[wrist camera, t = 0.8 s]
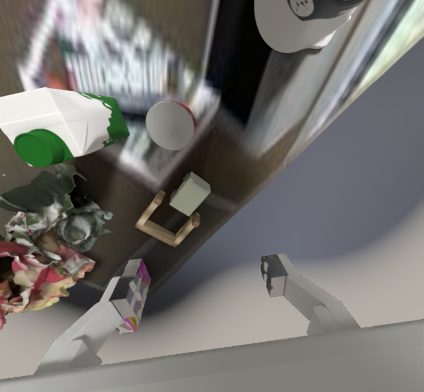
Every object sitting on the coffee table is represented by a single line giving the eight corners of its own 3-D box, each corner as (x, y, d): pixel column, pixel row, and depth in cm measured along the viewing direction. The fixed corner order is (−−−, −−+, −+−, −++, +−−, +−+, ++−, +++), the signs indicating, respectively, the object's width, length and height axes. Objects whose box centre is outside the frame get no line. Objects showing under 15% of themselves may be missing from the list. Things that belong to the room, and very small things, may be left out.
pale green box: (189, 169, 43) (188, 178, 38) (211, 185, 45) (212, 195, 40) (170, 194, 46) (166, 205, 41) (191, 208, 48) (190, 220, 43)
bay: (160, 189, 45) (156, 198, 40) (199, 213, 49) (199, 224, 45) (138, 219, 49) (132, 230, 44) (176, 239, 53) (174, 251, 49)
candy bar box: (152, 279, 61) (137, 332, 46) (138, 280, 61) (119, 335, 46) (143, 257, 56) (123, 309, 41) (128, 258, 56) (103, 312, 41)
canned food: (190, 144, 40) (187, 156, 30) (156, 133, 38) (141, 142, 29) (200, 110, 37) (200, 111, 27) (163, 96, 35) (149, 92, 25)
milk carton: (98, 145, 39) (12, 177, 21) (76, 100, 34) (-55, 93, 17) (135, 137, 38) (80, 163, 21) (117, 91, 34) (29, 74, 16)
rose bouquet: (-13, 210, 44) (-328, 361, 18) (64, 152, 39) (-225, 248, 12) (71, 265, 55) (-48, 410, 29) (140, 226, 50) (73, 361, 23)
